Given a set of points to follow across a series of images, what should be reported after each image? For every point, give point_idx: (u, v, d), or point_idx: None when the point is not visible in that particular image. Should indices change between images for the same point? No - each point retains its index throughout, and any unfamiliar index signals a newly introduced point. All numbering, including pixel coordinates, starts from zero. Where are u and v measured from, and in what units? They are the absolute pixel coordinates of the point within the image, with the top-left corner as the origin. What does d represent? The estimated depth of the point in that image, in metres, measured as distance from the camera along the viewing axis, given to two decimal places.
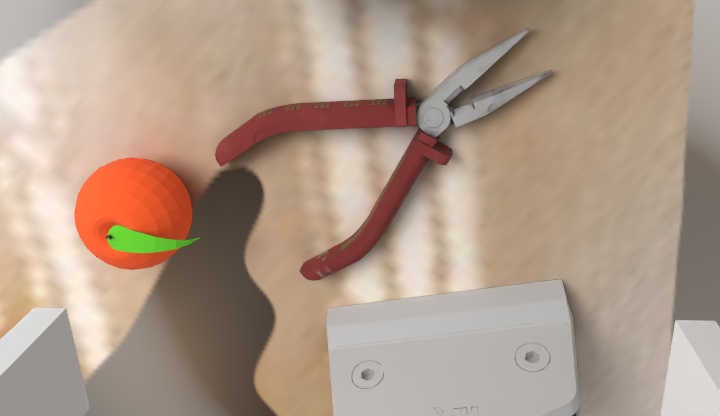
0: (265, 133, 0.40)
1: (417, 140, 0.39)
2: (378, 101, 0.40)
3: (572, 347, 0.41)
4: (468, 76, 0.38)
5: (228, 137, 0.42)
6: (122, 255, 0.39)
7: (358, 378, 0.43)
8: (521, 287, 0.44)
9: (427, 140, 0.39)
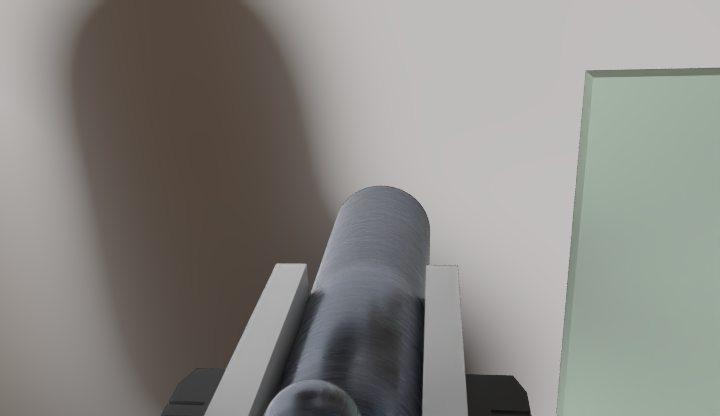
0: None
1: None
2: None
3: None
4: None
5: None
6: None
7: None
8: None
9: None
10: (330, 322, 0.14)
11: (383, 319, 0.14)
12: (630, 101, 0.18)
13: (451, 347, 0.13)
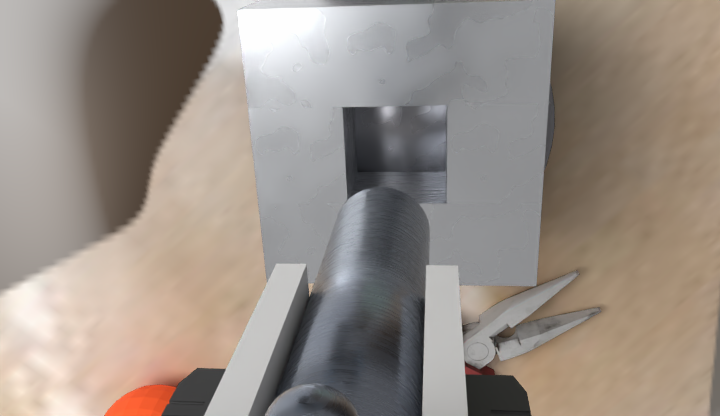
0: None
1: None
2: None
3: None
4: (515, 315, 0.37)
5: None
6: None
7: None
8: None
9: (471, 373, 0.39)
10: (329, 324, 0.14)
11: (382, 321, 0.14)
12: None
13: (451, 347, 0.13)
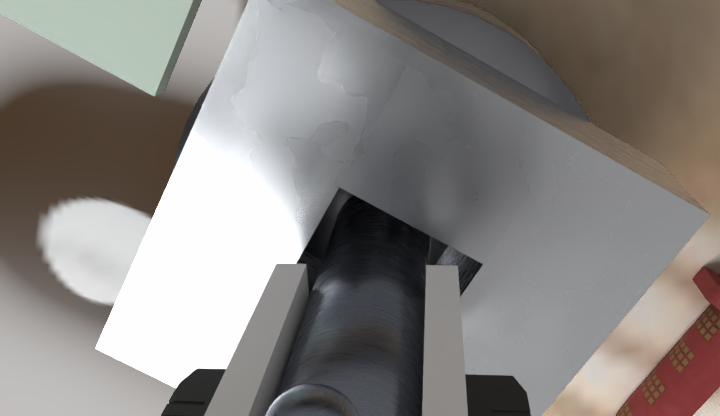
0: None
1: None
2: (707, 325, 0.25)
3: None
4: None
5: None
6: None
7: None
8: None
9: None
10: (330, 325, 0.14)
11: (382, 321, 0.14)
12: None
13: (451, 347, 0.13)
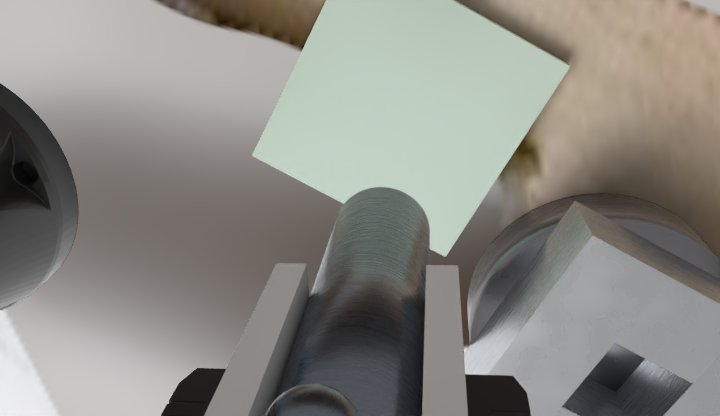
0: None
1: None
2: None
3: None
4: None
5: None
6: None
7: None
8: None
9: None
10: (329, 324, 0.14)
11: (383, 321, 0.14)
12: (271, 145, 0.36)
13: (451, 347, 0.13)
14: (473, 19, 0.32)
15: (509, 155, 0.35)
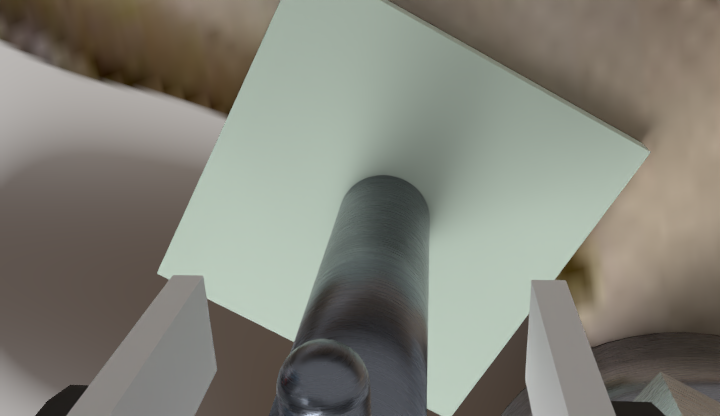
0: None
1: None
2: None
3: None
4: None
5: None
6: None
7: None
8: None
9: None
10: (336, 297, 0.15)
11: (386, 294, 0.15)
12: (184, 259, 0.24)
13: (587, 372, 0.12)
14: (496, 77, 0.20)
15: None
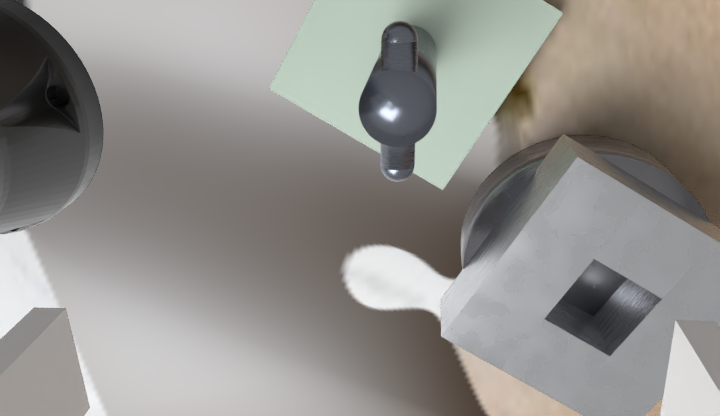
0: None
1: None
2: None
3: None
4: None
5: None
6: None
7: None
8: None
9: None
10: None
11: None
12: (286, 79, 0.39)
13: None
14: None
15: (505, 95, 0.38)
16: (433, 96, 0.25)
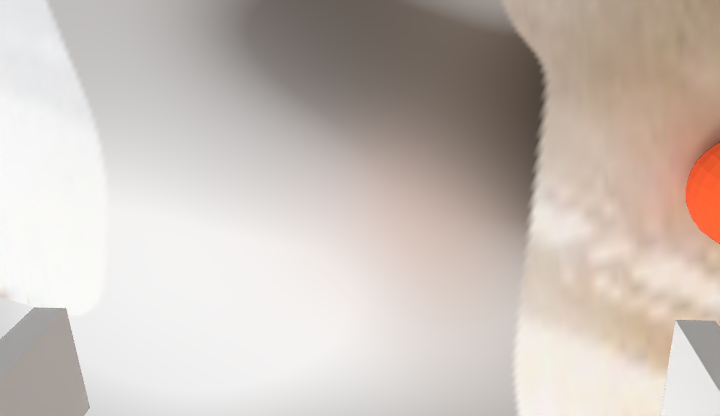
0: None
1: None
2: None
3: None
4: None
5: None
6: None
7: None
8: None
9: None
10: None
11: None
12: None
13: None
14: None
15: None
16: None
